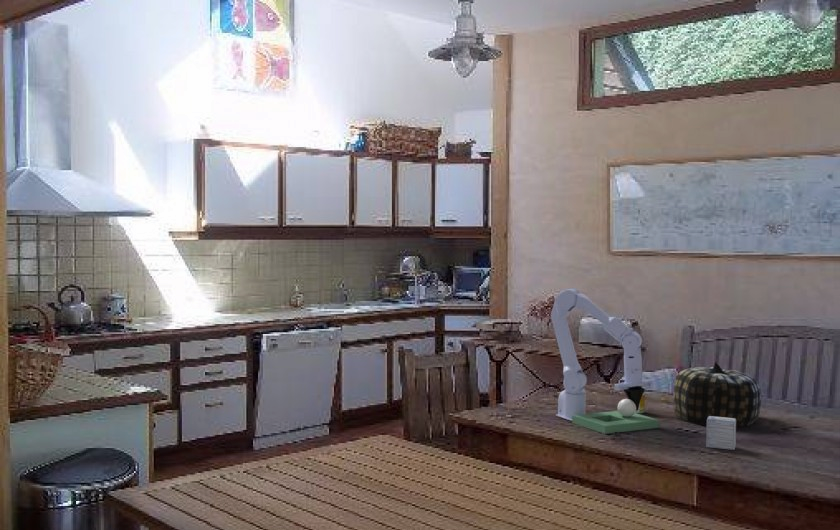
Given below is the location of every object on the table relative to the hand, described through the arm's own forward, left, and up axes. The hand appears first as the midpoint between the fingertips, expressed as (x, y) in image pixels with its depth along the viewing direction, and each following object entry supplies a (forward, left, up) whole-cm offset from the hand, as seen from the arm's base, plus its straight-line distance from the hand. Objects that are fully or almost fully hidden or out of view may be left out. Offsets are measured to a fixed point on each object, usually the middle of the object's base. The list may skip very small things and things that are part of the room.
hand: (634, 409), depth 282 cm
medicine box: (+35, +3, -5) cm, 35 cm away
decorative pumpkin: (+4, +32, -5) cm, 32 cm away
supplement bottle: (-15, +14, -5) cm, 21 cm away
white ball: (-1, -3, +1) cm, 3 cm away
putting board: (-1, -7, -5) cm, 9 cm away
